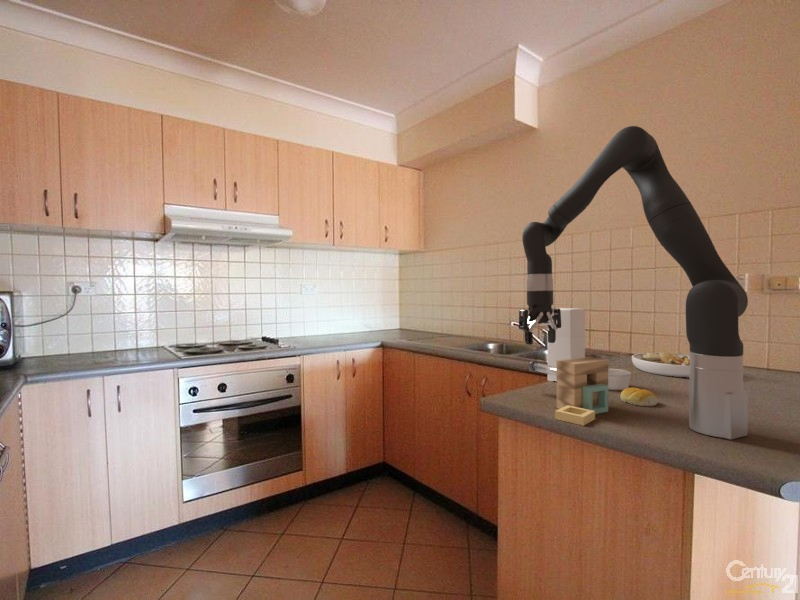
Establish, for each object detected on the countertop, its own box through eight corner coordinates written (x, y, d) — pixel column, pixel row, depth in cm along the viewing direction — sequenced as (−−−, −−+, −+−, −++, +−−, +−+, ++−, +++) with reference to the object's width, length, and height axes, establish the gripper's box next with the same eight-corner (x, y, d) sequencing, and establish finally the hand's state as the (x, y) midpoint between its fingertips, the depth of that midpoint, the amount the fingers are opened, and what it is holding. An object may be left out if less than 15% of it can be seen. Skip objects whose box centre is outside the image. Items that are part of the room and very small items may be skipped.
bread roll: (636, 397, 117) (637, 383, 117) (663, 405, 108) (663, 391, 108) (612, 399, 115) (612, 385, 115) (637, 408, 106) (637, 393, 106)
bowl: (620, 371, 153) (620, 351, 153) (645, 362, 174) (645, 344, 174) (719, 385, 131) (719, 361, 131) (734, 371, 152) (734, 351, 152)
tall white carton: (571, 385, 131) (571, 309, 130) (547, 380, 138) (547, 308, 137) (585, 381, 136) (585, 308, 136) (561, 377, 143) (561, 307, 143)
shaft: (587, 383, 107) (587, 371, 106) (578, 385, 105) (578, 372, 105) (536, 370, 124) (536, 359, 124) (528, 371, 123) (528, 360, 123)
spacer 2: (608, 411, 103) (608, 385, 103) (588, 415, 100) (589, 388, 100) (601, 409, 105) (601, 383, 104) (582, 412, 102) (582, 386, 102)
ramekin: (610, 382, 136) (610, 366, 136) (639, 389, 125) (639, 372, 125) (584, 385, 132) (584, 369, 132) (613, 393, 122) (613, 375, 121)
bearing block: (608, 408, 106) (608, 360, 106) (574, 413, 101) (574, 364, 101) (589, 402, 111) (589, 356, 111) (556, 407, 107) (556, 360, 106)
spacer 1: (595, 419, 97) (595, 410, 97) (583, 425, 92) (583, 417, 92) (567, 412, 102) (567, 405, 102) (555, 419, 97) (555, 410, 97)
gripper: (529, 289, 114) (530, 346, 114) (567, 289, 119) (568, 343, 119) (512, 290, 120) (513, 343, 121) (548, 289, 126) (549, 341, 126)
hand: (540, 343), depth 120 cm, fingers open, 8 cm apart
